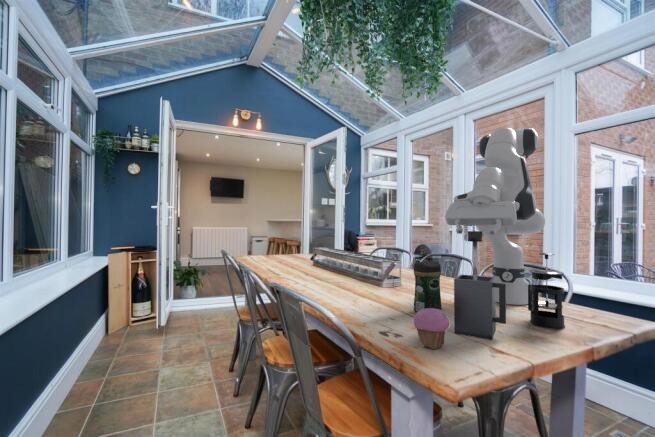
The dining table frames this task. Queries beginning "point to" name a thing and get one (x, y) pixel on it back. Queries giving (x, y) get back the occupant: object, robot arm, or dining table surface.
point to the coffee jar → (427, 285)
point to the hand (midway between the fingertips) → (475, 232)
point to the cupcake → (431, 327)
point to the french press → (546, 317)
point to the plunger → (475, 248)
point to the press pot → (478, 306)
